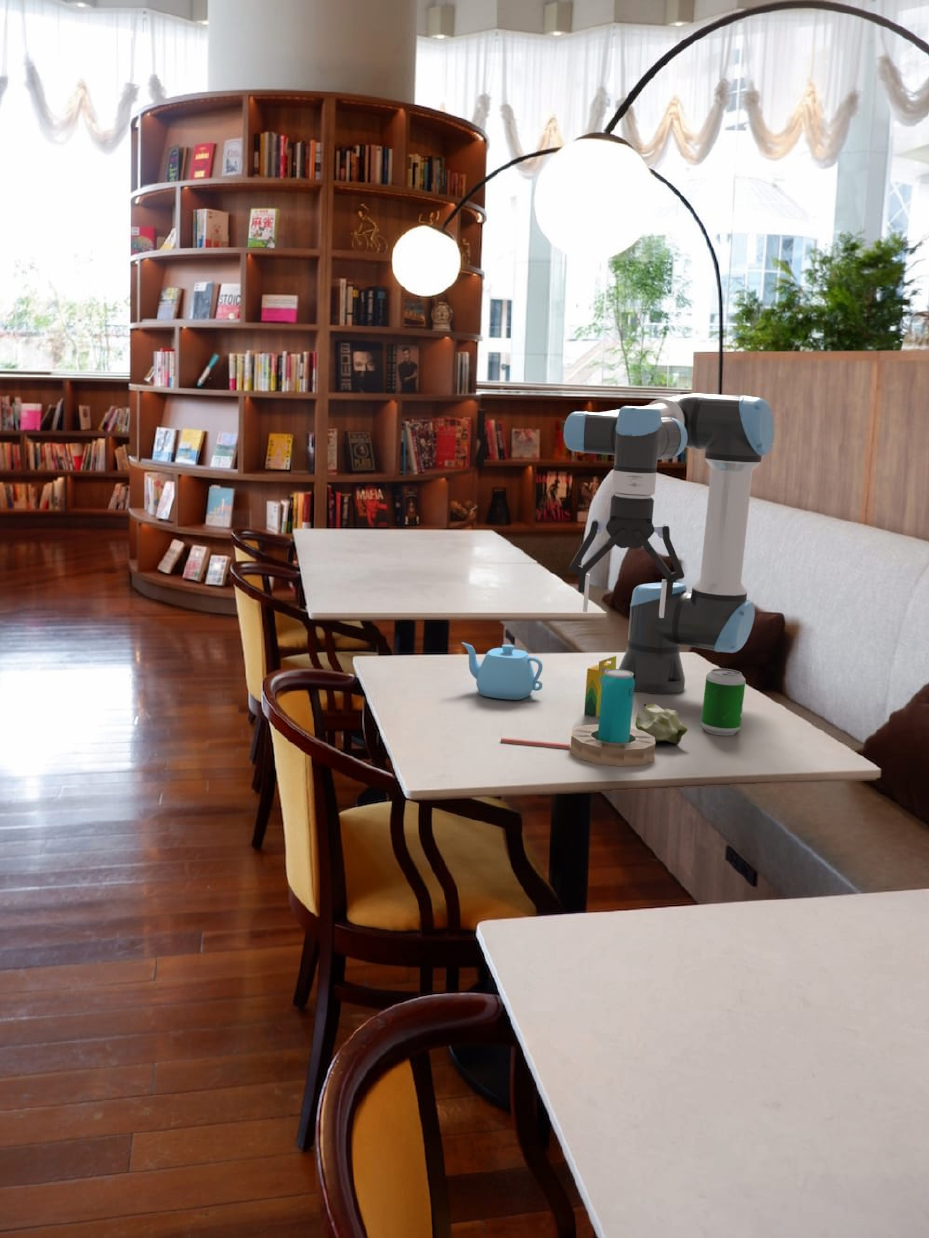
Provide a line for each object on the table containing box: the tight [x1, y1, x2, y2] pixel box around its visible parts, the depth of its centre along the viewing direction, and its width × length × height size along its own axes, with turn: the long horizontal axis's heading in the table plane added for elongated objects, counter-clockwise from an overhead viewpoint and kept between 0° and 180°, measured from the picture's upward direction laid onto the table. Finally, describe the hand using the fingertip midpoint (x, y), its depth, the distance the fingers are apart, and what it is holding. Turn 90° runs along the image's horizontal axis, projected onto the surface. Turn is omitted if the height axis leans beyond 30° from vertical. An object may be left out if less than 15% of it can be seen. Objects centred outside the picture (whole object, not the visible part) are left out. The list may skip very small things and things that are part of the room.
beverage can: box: [597, 668, 635, 744], centre depth 215 cm, size 6×6×15 cm
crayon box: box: [583, 655, 617, 719], centre depth 241 cm, size 7×3×12 cm, turn 145°
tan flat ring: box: [569, 723, 656, 767], centre depth 216 cm, size 15×15×3 cm
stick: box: [500, 737, 571, 750], centre depth 218 cm, size 1×13×1 cm, turn 83°
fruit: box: [635, 703, 688, 745], centre depth 224 cm, size 9×9×8 cm
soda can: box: [701, 667, 746, 737], centre depth 233 cm, size 8×8×12 cm
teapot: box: [461, 641, 543, 701], centre depth 251 cm, size 13×11×18 cm
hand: (623, 613), depth 214 cm, fingers open, 13 cm apart
